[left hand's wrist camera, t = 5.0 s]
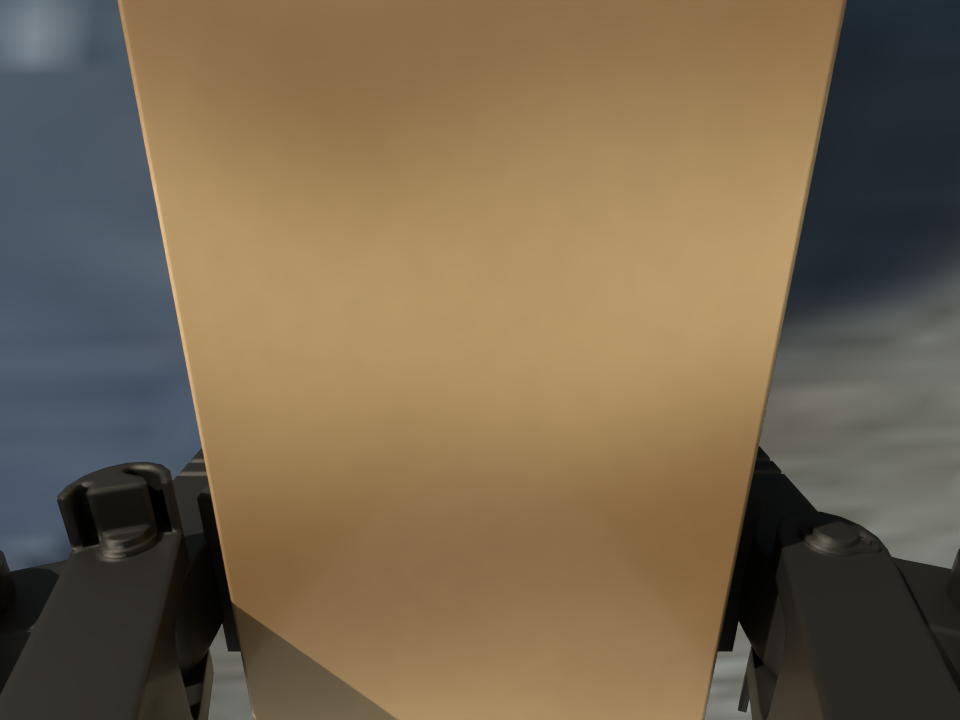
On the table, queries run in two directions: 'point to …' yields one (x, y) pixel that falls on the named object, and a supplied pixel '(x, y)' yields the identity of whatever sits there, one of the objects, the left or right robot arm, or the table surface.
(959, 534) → the table surface
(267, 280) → the beam
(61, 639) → the left robot arm
